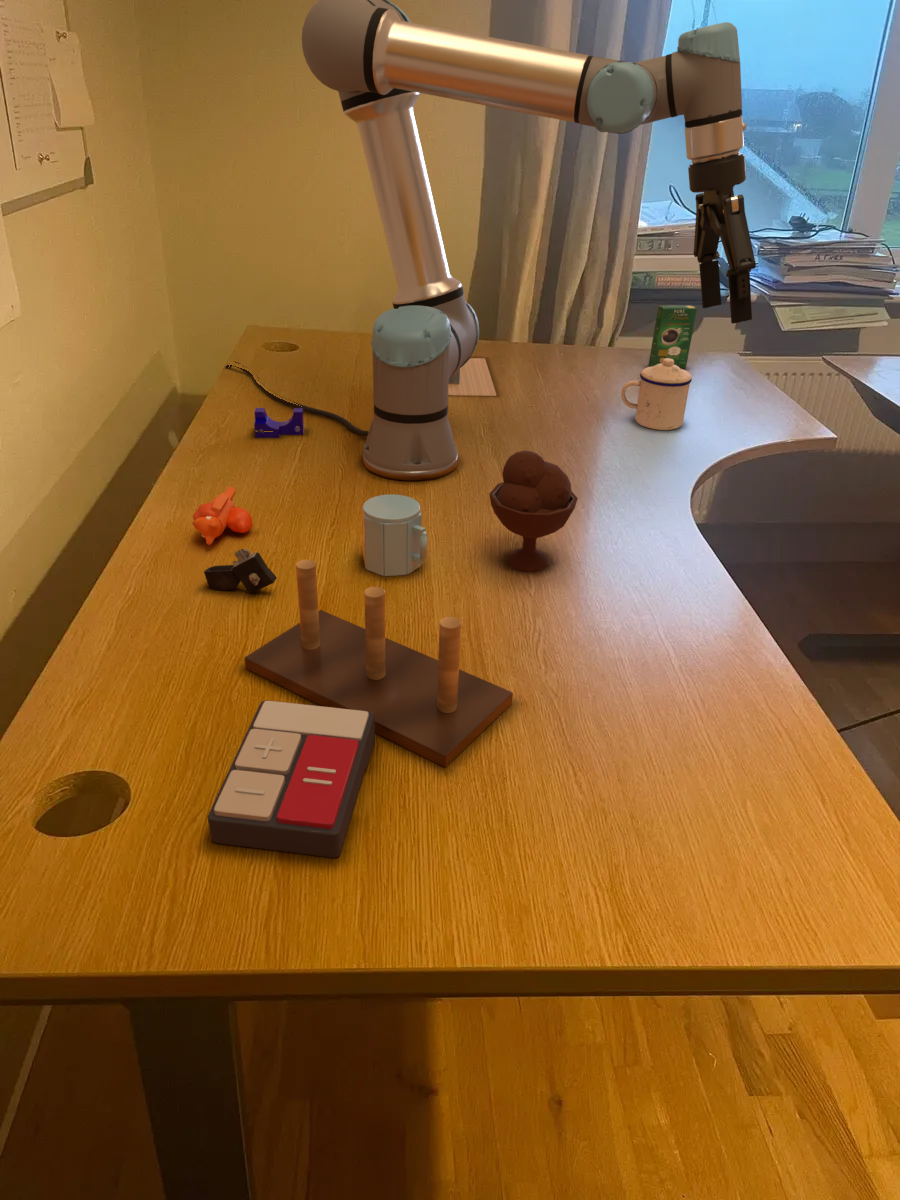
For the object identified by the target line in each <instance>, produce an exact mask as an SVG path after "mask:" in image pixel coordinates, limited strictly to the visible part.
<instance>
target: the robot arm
mask: <svg viewBox="0 0 900 1200" xmlns="http://www.w3.org/2000/svg"><path fill="white" fill-rule="evenodd" d="M677 41H678V42H677V48H676V50H677V51H673V52H672V53H669V54H666V55H663V56H658V57H653V58H649V59H646V60H644V59H643V60H640V61H636V62H631V61H626V60H617V59H612V58H608V57H607V58H606V57H601V56H593V55H589V54H586V53H585V54H584V53H581V52H580V53H579V52H574V51H568V50H562V49H558V48H552V47H547V46H540V45H536V44H530V43H524V42H519V41H512V40H508V39H503V38H498V37H492V36H487V35H481V34H475V33H470V32H465V31H459V30H454V29H448V28H443V27H437V26H433V25H426V24H421V23H415V22H412V20H411V19H410V18H409V16H408V15H407V14H406V13H405V11H403V9H401V8H400V7H399V6H398V5H397V4H395V3H394V2H392V1H390V0H316V2H315V3H314V4H313V5H312V6H311V8H310V9H309V11H308V12H307V14H306V16H305V18H304V22H303V26H302V29H301V49H302V53H303V57H304V60H305V62H306V65H307V66H308V68H309V70H310V72H311V74H312V75H313V76H314V77H315V79H317V80H318V81H319V82H320V83H321V84H322V85H324V86H325V87H327V88H329V89H330V90H333V91H337V92H338V96H339V100H340V104H341V108H342V111H343V115H344V116H346V117H347V118H348V119H350V120H352V122H354V123H355V124H356V125H357V129H358V133H359V137H360V141H361V145H362V148H363V152H364V156H365V160H366V165H367V170H368V173H369V177H370V180H371V181H370V182H371V185H372V188H373V193H374V197H375V200H376V204H377V209H378V212H379V216H380V220H381V225H382V228H383V229H382V230H383V233H384V236H385V240H386V245H387V248H388V252H389V257H390V261H391V264H392V269H393V273H394V276H395V280H396V284H397V290H396V292H395V294H394V296H393V298H392V300H391V303H392V307H393V308H389V309H387V310H386V311H383V312H382V313H380V314H379V315H378V316H377V317H376V319H375V320H374V323H373V325H372V336H371V341H370V346H371V350H372V354H371V355H372V383H373V384H372V388H373V391H372V396H373V417H372V420H371V424H370V426H369V430H364V429H363V430H362V429H360V428H358V427H356V426H355V425H354V424H352V422H350V421H348V420H347V419H346V418H344V417H342V416H340V415H338V414H336V413H334V412H330V411H326V410H322V409H318V408H316V407H315V408H314V407H311V406H307V405H304V404H301V403H299V404H298V402H296V404H298V405H296V404H293V403H290V402H287V401H285V400H283V399H280V398H278V397H276V396H274V395H273V394H271V393H269V392H268V391H266V390H265V389H264V388H263V387H262V386H261V385H259V384H258V383H257V382H256V380H255V379H254V377H253V375H252V374H251V373H250V372H249V371H247V370H245V369H242V368H239V367H236V366H234V367H235V368H238V369H240V371H242V372H244V373H245V374H247V375H249V376H250V377H251V379H252V380H253V382H254V383H255V385H256V386H257V387H258V388H260V389H261V391H262V392H264V394H266V395H267V396H269V397H270V398H272V399H274V400H275V401H277V402H280V403H282V404H284V405H286V406H289V407H292V408H293V409H294V408H303V412H305V413H309V414H313V415H318V416H322V417H325V418H329V419H331V420H334V421H337V422H338V423H340V424H342V425H344V426H345V427H346V428H347V429H348V430H349V431H351V432H352V433H354V434H355V435H358V436H360V437H366V439H365V443H364V445H363V450H362V462H363V463H362V464H363V466H364V467H365V468H366V469H367V470H368V471H369V472H371V473H373V474H375V475H377V476H380V477H383V478H386V479H392V480H397V481H424V480H432V479H436V478H441V477H443V476H446V475H448V474H450V473H451V472H453V471H454V470H455V469H456V468H457V466H458V459H459V454H458V448H457V444H456V443H455V440H454V439H455V438H454V435H453V430H452V427H451V424H450V420H449V414H448V413H449V395H448V387H449V378H450V377H451V376H452V375H453V374H454V373H455V372H456V371H457V370H458V369H459V368H461V367H462V366H464V365H465V364H466V363H467V362H468V360H469V359H470V358H472V356H473V355H474V353H475V350H476V348H477V345H478V343H479V339H480V323H479V319H478V316H477V313H476V312H475V310H474V309H473V306H472V305H470V304H469V303H468V302H467V301H466V297H465V293H464V288H463V283H462V282H461V281H460V280H458V279H457V278H456V277H454V276H452V275H451V273H450V269H449V264H448V260H447V256H446V255H447V254H446V251H445V246H444V241H443V237H442V233H441V229H440V228H441V227H440V225H439V220H438V215H437V211H436V206H435V201H434V197H433V193H432V188H431V183H430V180H429V175H428V171H427V166H426V162H425V157H424V153H423V148H422V143H421V139H420V135H419V130H418V127H417V126H418V125H417V122H416V117H415V113H414V107H415V104H416V103H417V100H418V99H419V97H420V95H421V94H424V95H429V96H434V97H440V98H444V99H449V100H456V101H460V102H465V103H470V104H476V105H481V106H486V107H491V108H497V109H502V110H507V111H512V112H517V113H522V114H527V115H533V116H538V117H543V118H548V119H554V120H559V121H564V122H569V123H575V124H580V125H582V126H588V127H593V128H595V129H596V131H598V132H600V133H609V134H616V135H623V134H627V133H630V132H632V131H634V130H635V129H637V128H638V127H639V126H642V125H645V124H650V123H654V122H657V121H661V120H662V121H663V120H667V119H669V118H675V117H679V116H683V119H684V138H685V150H686V159H687V160H691V163H689V166H688V167H687V171H688V183H689V191H690V192H691V193H694V194H695V193H696V194H695V197H694V199H695V207H696V208H695V224H694V225H695V226H694V241H693V257H694V258H696V259H697V263H698V265H699V267H698V268H699V277H700V278H699V279H700V280H699V281H700V291H701V293H700V294H701V304H702V309H708V308H712V307H716V306H720V305H722V294H721V293H722V292H721V278H720V277H721V276H720V264H719V260H718V259H721V255H720V252H719V251H718V248H719V244H720V242H721V244H722V248H723V251H724V255H725V258H726V261H727V264H728V267H729V269H727V271H726V274H725V277H726V278H728V292H729V293H728V295H729V309H730V323H731V324H739V323H742V322H747V321H752V320H753V313H752V311H753V310H752V294H751V293H752V292H751V272H752V270H754V269H756V267H757V262H756V258H755V254H754V249H753V244H752V239H751V234H750V230H749V229H750V228H749V224H748V220H747V216H746V215H747V214H746V210H745V209H746V207H745V197H744V195H743V193H741V194H738V195H735V192H734V187H735V186H738V185H741V184H743V183H744V182H745V181H746V179H747V173H746V171H747V170H746V156H745V154H744V153H743V152H740V150H742V149H743V148H744V147H745V142H744V141H745V140H744V131H746V130H747V123H746V122H744V121H743V97H742V72H741V71H742V70H741V69H742V68H741V56H740V47H739V37H738V29H737V26H735V25H734V24H733V23H731V22H728V21H727V22H720V23H716V24H715V23H714V24H710V25H707V26H703V27H699V28H697V29H693V30H689V31H686V32H683V33H681V34H680V35H679V37H678V39H677ZM234 362H235V363H238V364H241V363H240V362H238V361H234ZM226 365H227V364H226ZM226 365H225V367H226V368H225V369H227V368H228V367H229V365H227V366H226ZM232 367H233V366H232V365H230V368H229V369H231V368H232ZM257 378H258V379H259V377H258V376H257ZM293 402H294V403H295V401H293ZM299 405H300V406H299ZM301 406H302V407H301Z"/></svg>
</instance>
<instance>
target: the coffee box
mask: <svg viewBox="0 0 900 1200" xmlns="http://www.w3.org/2000/svg"><path fill="white" fill-rule="evenodd" d="M697 312H698V308H697V307H696V306H694V305H691V304H690V305H685V304H684V305H679V304H678V305H675V304H674V305H671V304H669V305H663V304H661V305H659V304H658V306H657V312H656V319H655V324H654V330H653V335H652V342H651V348H650V354H649V358H648V359H649V361H648V367H651V366H655V365H657V364H660V363H662V361H663V359H665V358H670V359H673V360H674V365H676V366H678V367H679V368H680V369H687V365H688V360H689V353H690V349H691V344H692V338H693V333H694V328H695V322H696V317H697Z"/></svg>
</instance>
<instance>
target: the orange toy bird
mask: <svg viewBox="0 0 900 1200" xmlns="http://www.w3.org/2000/svg"><path fill="white" fill-rule="evenodd" d="M236 491H237V489H236V488H234V487H231V486H228V487H227V488H226V489H225V491H224V493H223V492H221V493H220V494H219V495H218V496H215V497H214V498H212V500H211V502H207V503H202V504H200V505H198V508H196V510H195V512H194V513H193V514H192V518H193V522H192V525H193V527H194V529H196V530H197V531H198V532H199V534H201V537H202V538H203V539H204V540H205V543H206V544H207V545H208V546H211V545H212V544H213V543H214V541H215V539H216V538H218V537H220V536H221V535H223V532H224V531H225V529H226V528H227V527H228V528H229V529H230V530H231V531H233V532H235V533H239V534H246V533H248V532H249V531H250V530H251V529H252V527H253V518H252V515H251V514H250V512H248V510H246V509H245V508H243V507H240V506H235V503H234V502H233V498H234V497H235V495H236Z"/></svg>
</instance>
